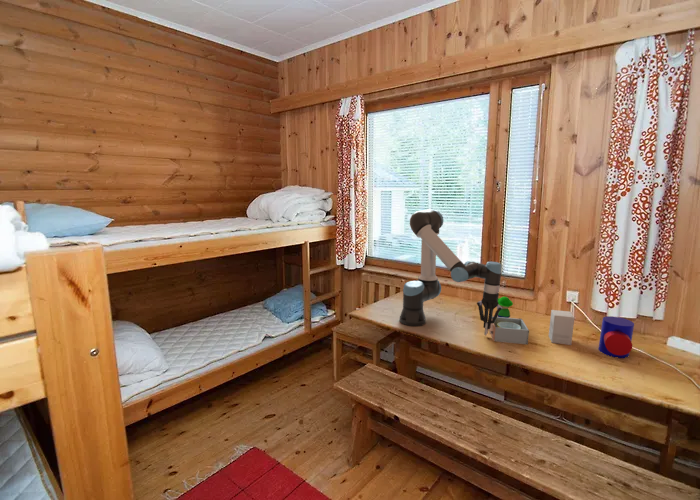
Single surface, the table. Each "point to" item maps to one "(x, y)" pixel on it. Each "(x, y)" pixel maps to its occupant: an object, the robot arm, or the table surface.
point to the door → (492, 331)
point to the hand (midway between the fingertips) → (486, 334)
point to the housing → (511, 331)
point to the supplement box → (561, 327)
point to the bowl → (508, 325)
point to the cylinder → (616, 336)
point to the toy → (504, 307)
